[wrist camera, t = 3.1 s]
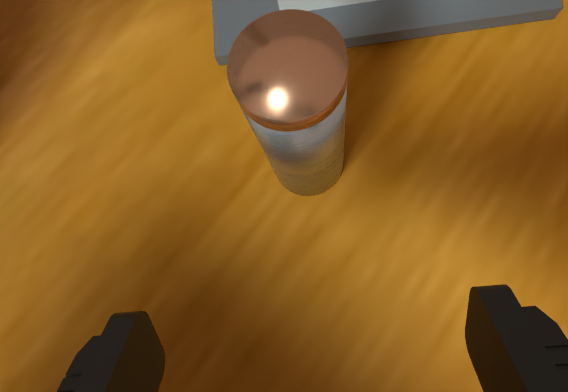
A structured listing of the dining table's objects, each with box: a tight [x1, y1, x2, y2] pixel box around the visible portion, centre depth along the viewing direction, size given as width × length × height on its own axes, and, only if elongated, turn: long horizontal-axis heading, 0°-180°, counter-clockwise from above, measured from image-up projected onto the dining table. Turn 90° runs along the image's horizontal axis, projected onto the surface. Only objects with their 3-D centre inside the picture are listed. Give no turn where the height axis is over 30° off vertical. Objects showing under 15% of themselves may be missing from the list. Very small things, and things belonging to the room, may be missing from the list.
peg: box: [227, 9, 348, 196], centre depth 19 cm, size 4×4×11 cm
